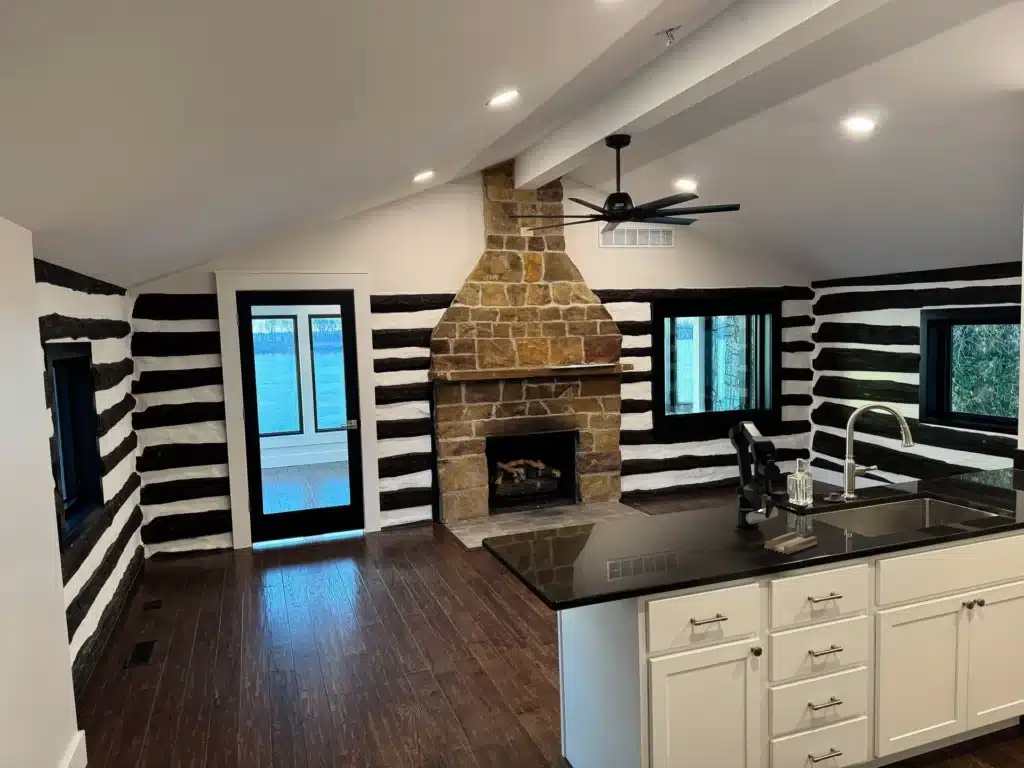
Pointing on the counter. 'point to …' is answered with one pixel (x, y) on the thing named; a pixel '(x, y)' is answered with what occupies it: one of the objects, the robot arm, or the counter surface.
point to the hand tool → (797, 507)
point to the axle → (760, 515)
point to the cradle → (790, 543)
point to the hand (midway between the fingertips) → (762, 516)
